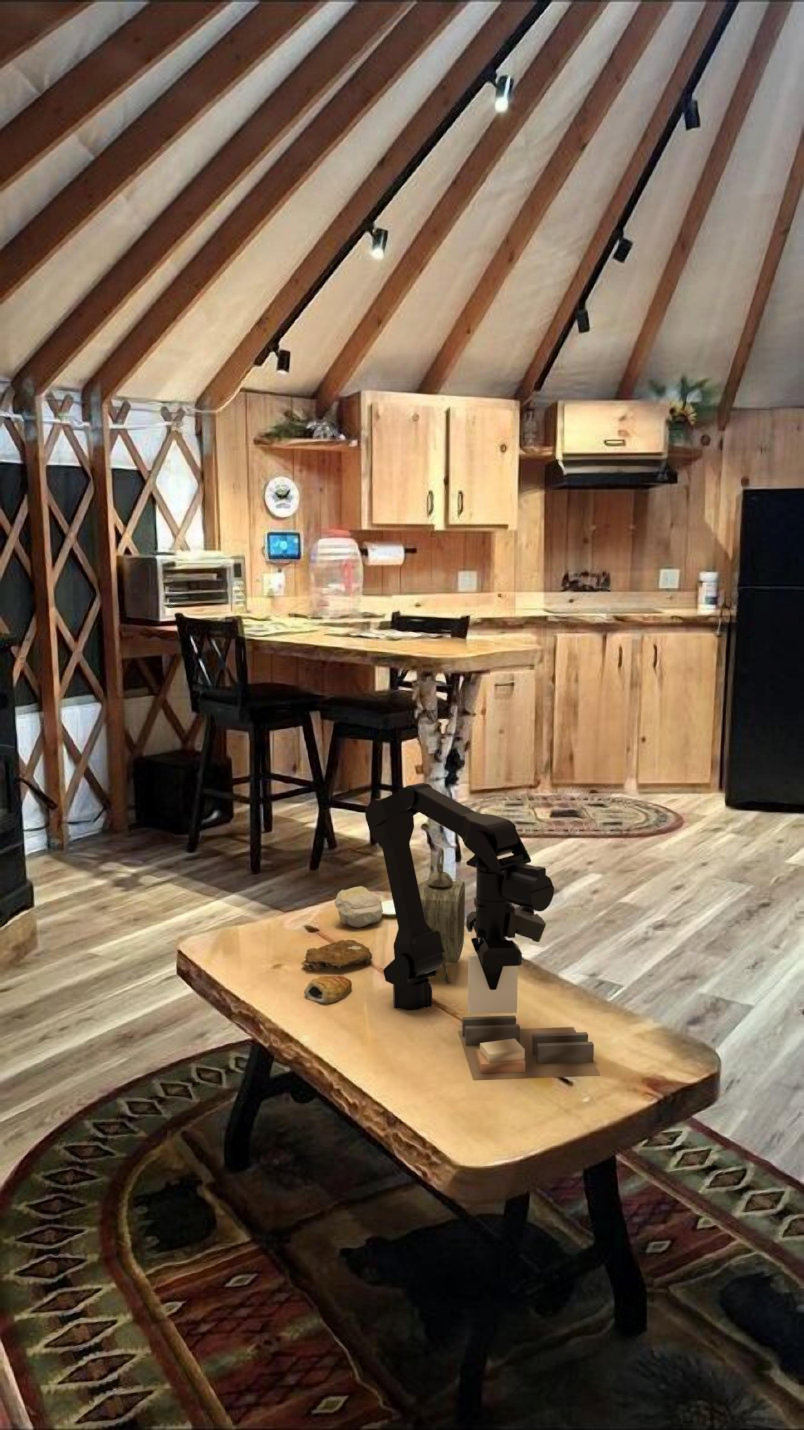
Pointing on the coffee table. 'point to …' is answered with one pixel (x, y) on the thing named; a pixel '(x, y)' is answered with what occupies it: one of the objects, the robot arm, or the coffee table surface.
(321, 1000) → the pastry
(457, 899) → the tabletop clock
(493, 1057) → the birch offcut
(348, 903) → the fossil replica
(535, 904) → the robot arm
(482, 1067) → the cedar offcut
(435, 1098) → the coffee table surface
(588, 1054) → the walnut rack
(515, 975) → the off-white sheet
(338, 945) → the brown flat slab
